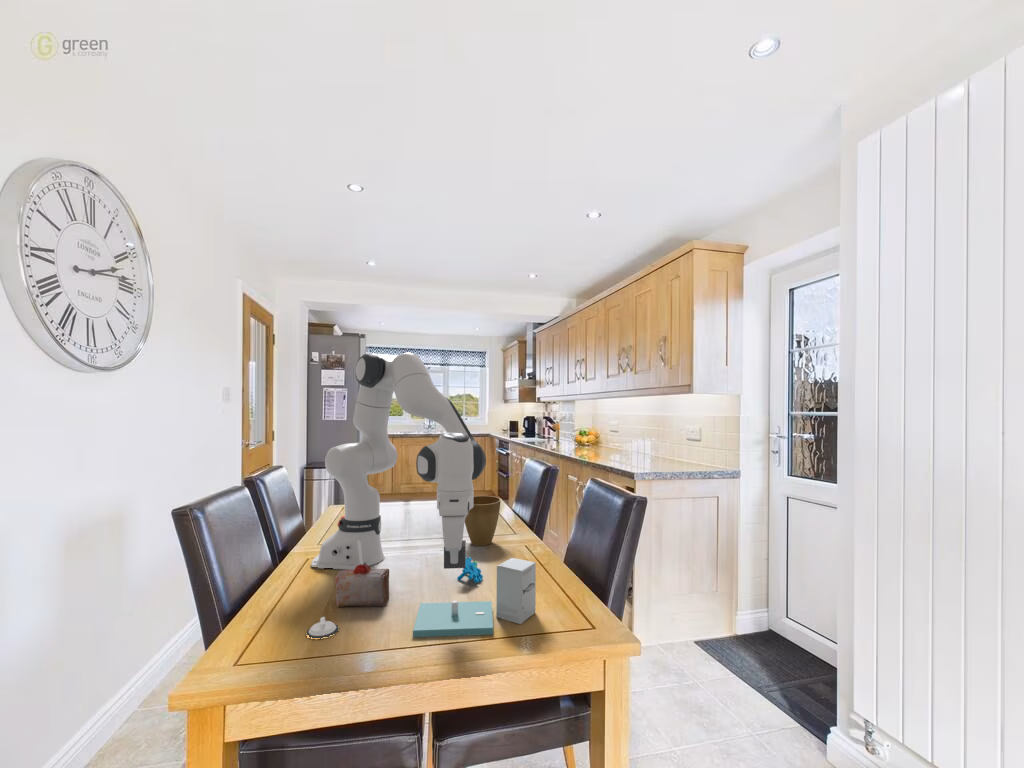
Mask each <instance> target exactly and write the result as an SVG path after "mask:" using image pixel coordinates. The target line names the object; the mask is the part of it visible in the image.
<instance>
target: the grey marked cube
mask: <svg viewBox="0 0 1024 768" xmlns="http://www.w3.org/2000/svg"><path fill="white" fill-rule="evenodd" d="M466 553H467V541H466V540H465V539H463V540H462V547H461V550H460V551H459V552H458V563H457V564H452V563H451V562H450V551H446V550H445V547H444V546H443V569H444V570H445V569H448V570H449V569H463V568H465V563H466V559H467V557H466V556H467V554H466Z"/></svg>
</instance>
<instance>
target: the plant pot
mask: <svg viewBox="0 0 1024 768" xmlns="http://www.w3.org/2000/svg"><path fill="white" fill-rule="evenodd" d="M501 501H502V499H501V498H500V497H498V496H493V495H491V496H490V495H476V496H474V495H473V508H472V509H470V511H469V512H468V515H467V516H466V518H465V523H464V527H465V529H466V531H467V535H468V538H469V540H470V542H471V545H473V546H476V547H477V546H478V547H485V546H488V545H490V544H492V542H493V539H494V536H495V533H496V529H497V525H498V522H499V521H498V520H499V516H500V515H499V514H500V509H501V503H502V502H501Z"/></svg>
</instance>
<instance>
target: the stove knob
mask: <svg viewBox="0 0 1024 768" xmlns="http://www.w3.org/2000/svg"><path fill="white" fill-rule="evenodd" d="M335 624H336V623H334V622H332V621H330V620H326V617H325V616H322V617H320V618H319V621H318V622H317V623H314V624H313V625H312V626H311V627H310V628H308V629H307V630H308V631H306V632H307V635H309V637H310V638H311V637H312V638H320V639H321V638H323V637H329V636H330V635H333V634H335V633H336V632H338V633H339V631H338V629H339V630H340V627H339V628H338V626H339V625H337V624H336V625H335ZM335 635H336V634H335Z"/></svg>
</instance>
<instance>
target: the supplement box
mask: <svg viewBox="0 0 1024 768" xmlns="http://www.w3.org/2000/svg"><path fill="white" fill-rule="evenodd" d="M536 563H537V562H535V561H529V560H525V559H520V558H515V557H511V558H509V559H507V560H505V561H503V562H502V563H500V564H498V565H496V607H495V609H496V612H495V613H496V615H495V616H496V618H498V619H501V620H504V621H508V622H511V623H515V624H519V625H522V624H523V623H524V622H526V620H528V619H529V618H530V617H531V616H533V615H534V614H536V606H537V605H536V594H537V593H536V589H537V585H536V584H537V583H536V580H537V579H536V578H537V577H536V572H537V571H536V568H537V567H536V566H537V564H536Z"/></svg>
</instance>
